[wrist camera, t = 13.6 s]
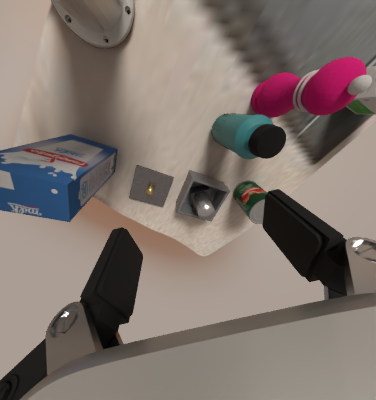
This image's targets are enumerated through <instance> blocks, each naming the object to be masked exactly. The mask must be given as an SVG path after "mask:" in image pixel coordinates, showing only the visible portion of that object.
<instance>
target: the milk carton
mask: <svg viewBox="0 0 376 400" xmlns="http://www.w3.org/2000/svg"><path fill="white" fill-rule="evenodd" d="M116 156H117V149H116V148H113V147H109V146H106V145H103V144H100V143H97V142H94V141H90V140H87V139H84V138H81V137H78V136H74V135H71V134H70V135H66V136H61V137H57V138H53V139H48V140H44V141H40V142H35V143H31V144H27V145H22V146H18V147H14V148H9V149H6V150H1V151H0V210H3V211H9V212H14V213H20V214H26V215H32V216H38V217H44V218H49V219H55V220H61V221H67V222H70V221H71V219H72V218H73V217H74V216H75V215H76V214H77V213H78V212H79V211H80V209H81V208H82V207H83V206H84V205H85V204H86V203H87V202H88V201H89V200H90V198H91V197H92V196H93V195H94V194H95V193H96V192H97V191H98V190H99V189H100V188H101V187H102V185H103V184H104V183H105V182H106V181H107V180H108V179H109V178H110V177H111V176H112V175H113V173H114V172H115V165H116Z"/></svg>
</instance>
